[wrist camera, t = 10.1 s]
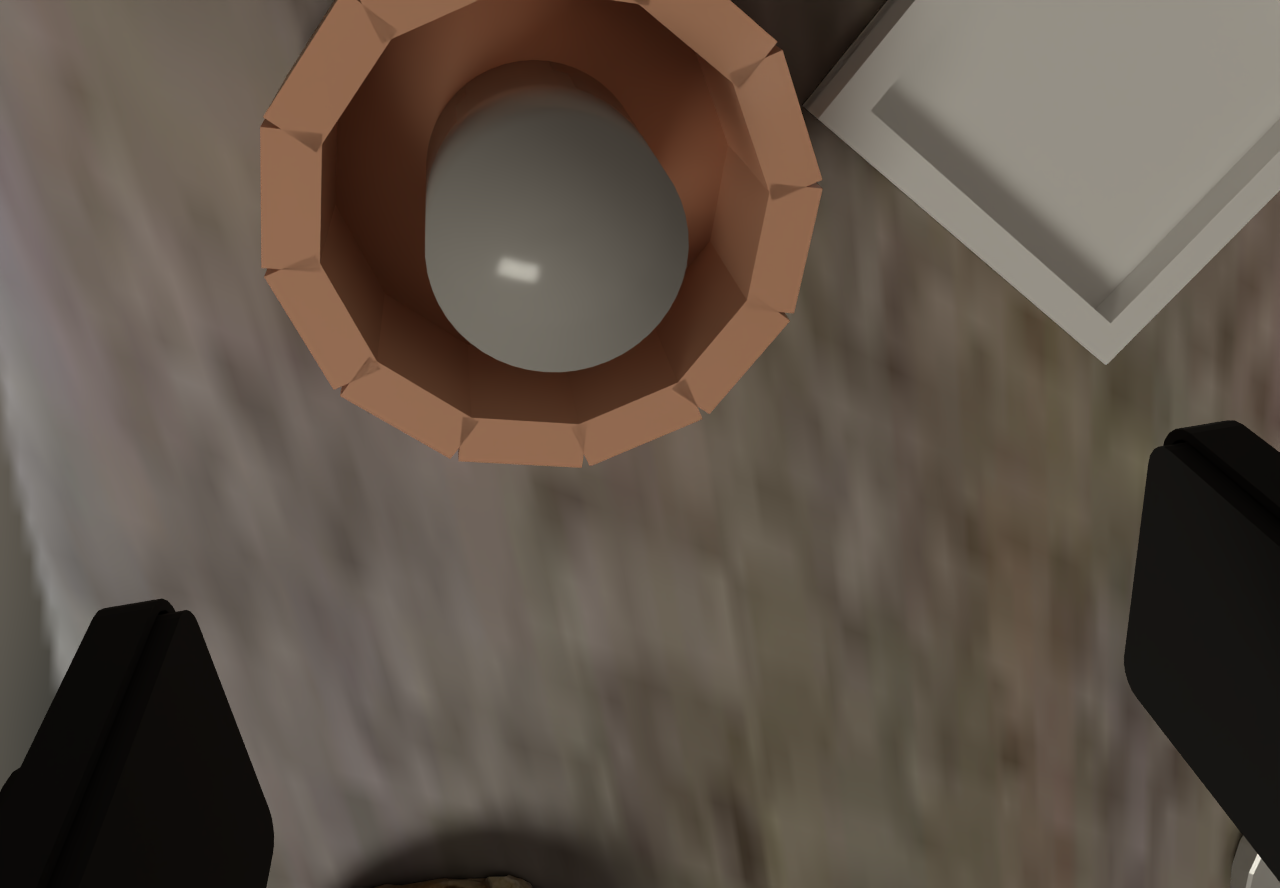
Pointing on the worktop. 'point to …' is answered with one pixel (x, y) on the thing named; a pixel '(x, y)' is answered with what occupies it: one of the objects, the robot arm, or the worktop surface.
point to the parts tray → (1072, 139)
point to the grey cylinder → (549, 220)
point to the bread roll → (467, 883)
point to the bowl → (396, 208)
